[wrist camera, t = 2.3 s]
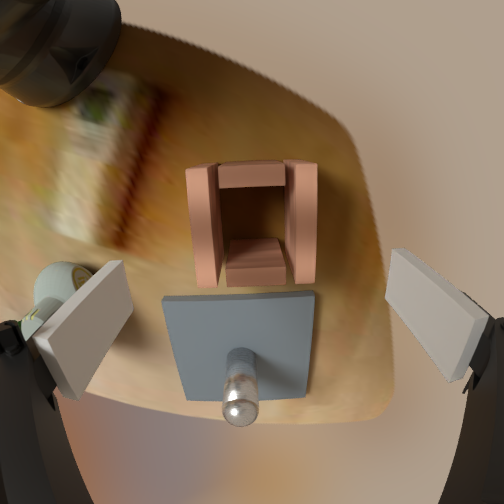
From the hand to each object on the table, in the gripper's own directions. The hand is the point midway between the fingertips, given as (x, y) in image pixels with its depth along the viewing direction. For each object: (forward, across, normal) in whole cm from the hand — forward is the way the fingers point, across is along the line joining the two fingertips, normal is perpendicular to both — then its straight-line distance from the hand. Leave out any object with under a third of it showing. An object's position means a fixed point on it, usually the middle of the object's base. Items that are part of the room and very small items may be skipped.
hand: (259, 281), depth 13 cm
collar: (+15, 0, 0) cm, 15 cm away
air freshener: (+15, -21, -8) cm, 27 cm away
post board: (+15, -2, -16) cm, 22 cm away
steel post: (+14, -2, -17) cm, 22 cm away
